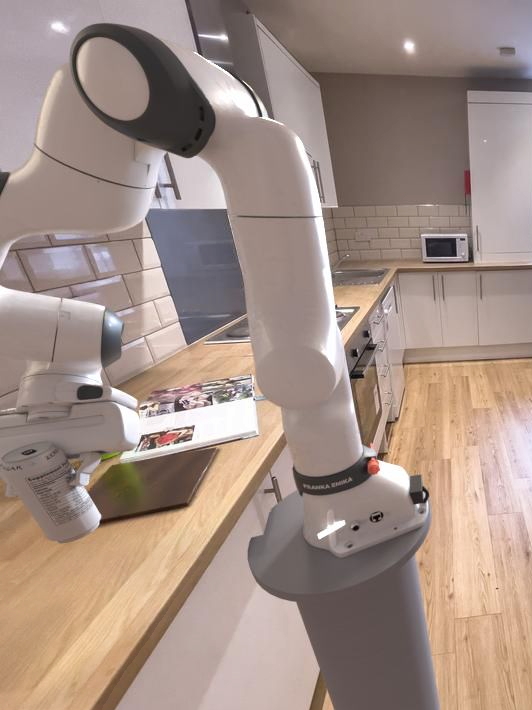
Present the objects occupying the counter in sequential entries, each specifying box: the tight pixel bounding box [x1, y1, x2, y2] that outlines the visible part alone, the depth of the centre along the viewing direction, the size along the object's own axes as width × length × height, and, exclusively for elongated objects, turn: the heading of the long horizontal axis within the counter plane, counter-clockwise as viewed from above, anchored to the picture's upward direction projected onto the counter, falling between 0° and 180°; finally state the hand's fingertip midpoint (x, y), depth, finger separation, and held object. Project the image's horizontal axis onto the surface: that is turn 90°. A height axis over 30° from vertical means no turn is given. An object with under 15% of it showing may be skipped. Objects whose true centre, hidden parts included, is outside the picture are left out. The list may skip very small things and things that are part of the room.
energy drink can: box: [1, 442, 101, 544], centre depth 60 cm, size 6×6×15 cm
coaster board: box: [87, 446, 219, 525], centre depth 83 cm, size 20×20×1 cm
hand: (48, 491), depth 60 cm, fingers closed on energy drink can, 6 cm apart
